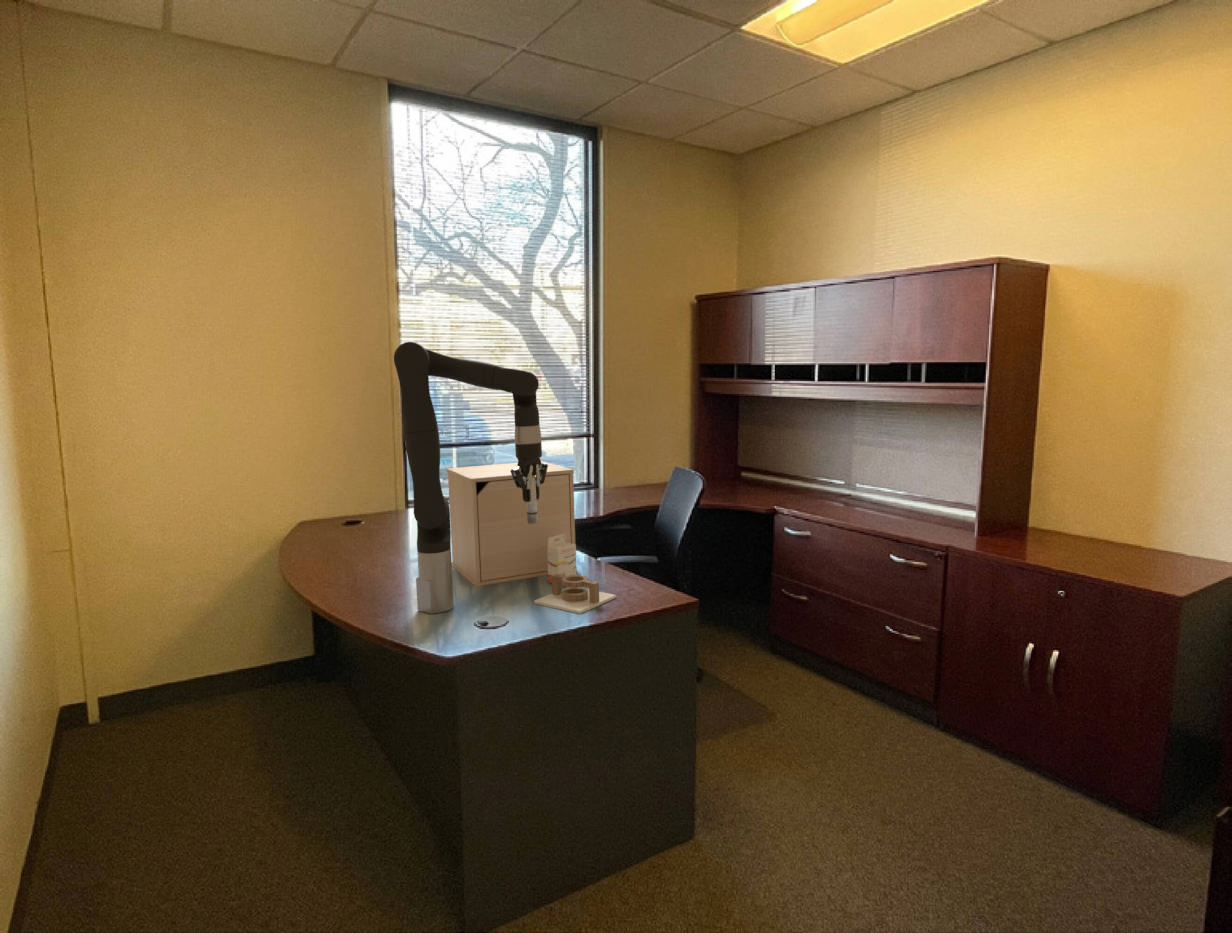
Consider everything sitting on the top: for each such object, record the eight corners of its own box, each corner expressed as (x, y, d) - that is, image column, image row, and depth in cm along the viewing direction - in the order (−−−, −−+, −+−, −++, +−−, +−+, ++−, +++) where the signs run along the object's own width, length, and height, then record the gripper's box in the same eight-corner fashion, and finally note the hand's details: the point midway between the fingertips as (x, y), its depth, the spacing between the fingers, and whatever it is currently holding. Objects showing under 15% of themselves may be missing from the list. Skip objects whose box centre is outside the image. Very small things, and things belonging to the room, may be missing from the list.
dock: (579, 613, 199) (579, 591, 198) (534, 603, 209) (533, 581, 208) (616, 597, 213) (615, 576, 212) (571, 588, 223) (571, 567, 222)
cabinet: (475, 586, 227) (470, 478, 222) (451, 565, 253) (446, 468, 248) (576, 570, 243) (573, 469, 238) (544, 552, 269) (541, 460, 264)
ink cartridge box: (559, 585, 226) (557, 539, 224) (547, 583, 229) (546, 537, 227) (577, 579, 232) (576, 534, 230) (566, 576, 236) (564, 532, 234)
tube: (532, 524, 208) (530, 476, 206) (525, 523, 210) (522, 475, 208) (540, 522, 210) (537, 474, 208) (532, 521, 212) (529, 474, 210)
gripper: (535, 438, 215) (538, 495, 217) (501, 443, 203) (504, 503, 206) (554, 439, 210) (557, 497, 213) (520, 444, 199) (524, 505, 201)
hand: (531, 500), depth 209 cm, fingers closed on tube, 3 cm apart
